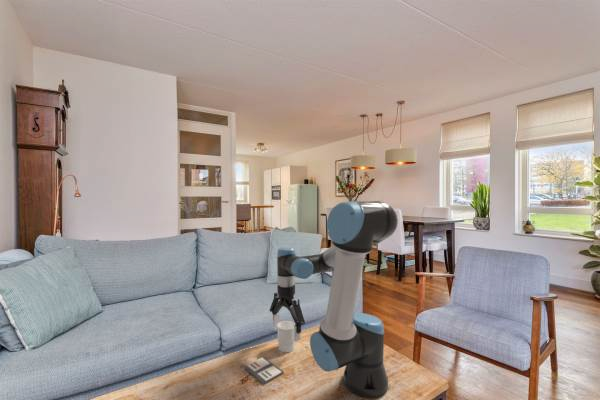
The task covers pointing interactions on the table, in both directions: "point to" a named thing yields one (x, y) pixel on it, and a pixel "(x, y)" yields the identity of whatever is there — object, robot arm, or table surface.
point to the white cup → (286, 336)
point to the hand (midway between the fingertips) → (286, 334)
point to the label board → (263, 370)
